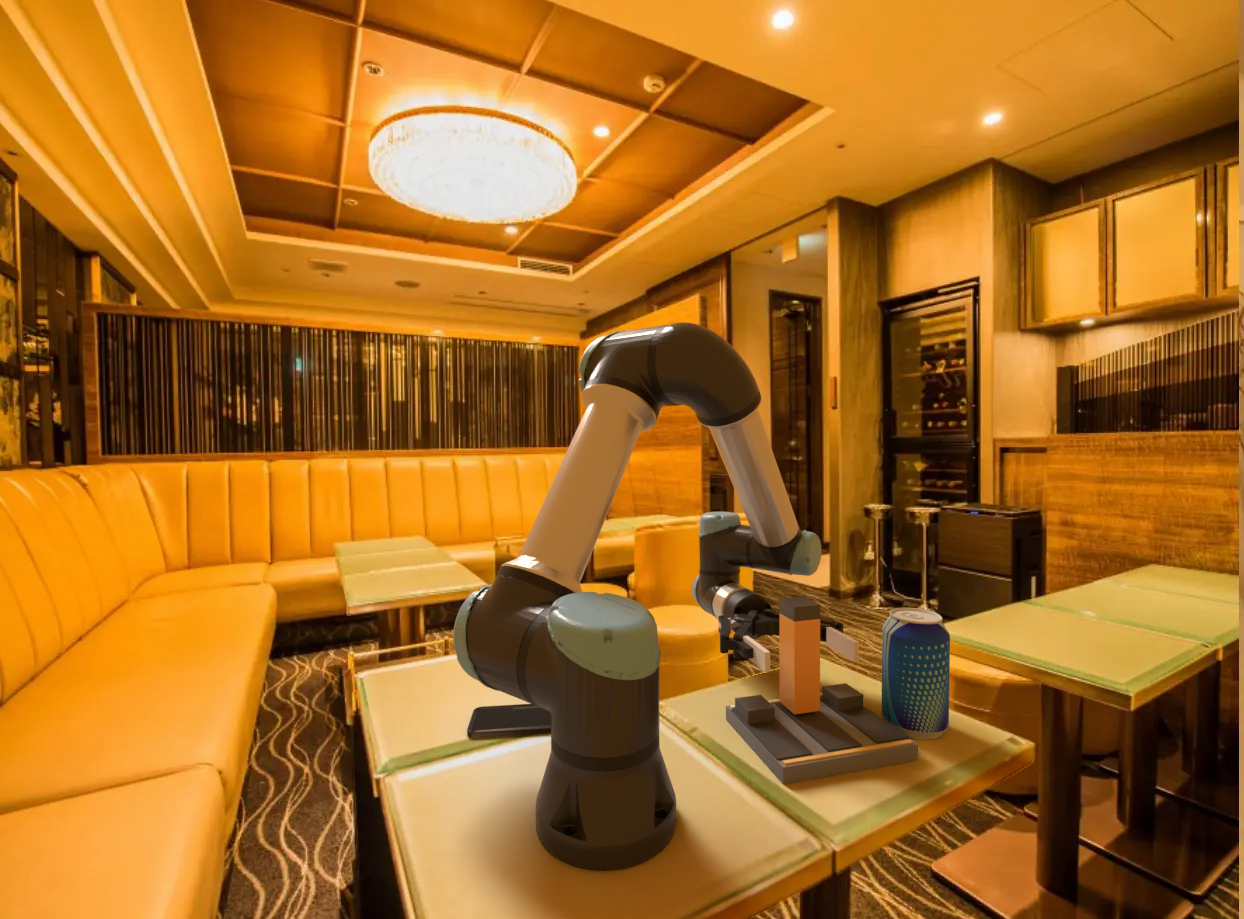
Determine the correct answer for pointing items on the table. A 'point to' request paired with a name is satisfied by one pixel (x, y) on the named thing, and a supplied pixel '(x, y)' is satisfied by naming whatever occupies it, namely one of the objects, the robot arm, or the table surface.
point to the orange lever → (799, 655)
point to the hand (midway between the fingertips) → (813, 656)
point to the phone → (509, 721)
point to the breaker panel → (819, 735)
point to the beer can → (916, 672)
